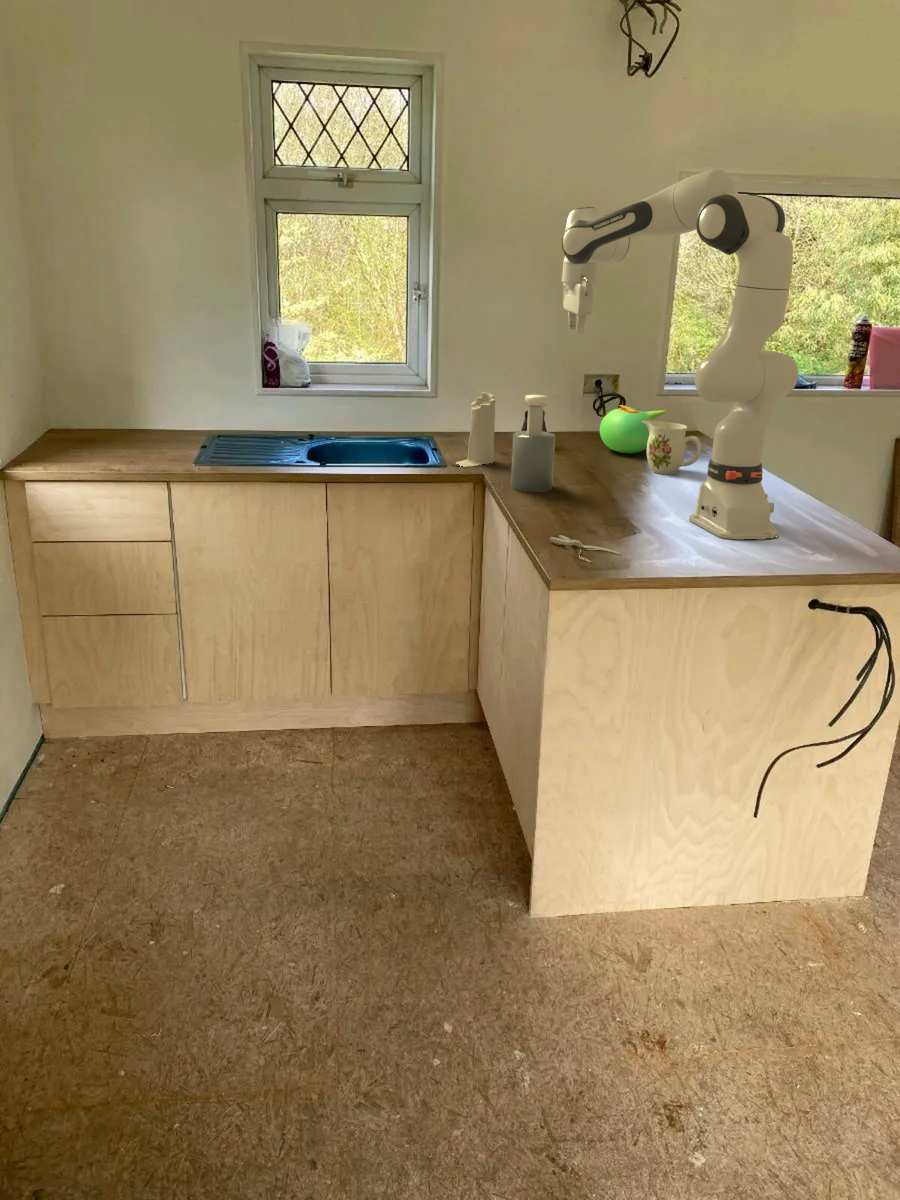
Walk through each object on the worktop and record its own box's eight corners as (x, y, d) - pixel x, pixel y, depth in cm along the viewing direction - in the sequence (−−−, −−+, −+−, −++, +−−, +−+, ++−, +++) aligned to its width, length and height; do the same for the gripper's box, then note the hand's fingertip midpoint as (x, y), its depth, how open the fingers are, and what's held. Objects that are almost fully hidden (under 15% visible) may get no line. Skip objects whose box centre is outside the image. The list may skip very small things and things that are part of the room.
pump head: (546, 433, 239) (548, 398, 236) (525, 433, 238) (527, 398, 235) (543, 429, 244) (545, 394, 241) (522, 429, 244) (523, 394, 240)
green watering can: (588, 449, 293) (591, 402, 288) (630, 444, 301) (634, 398, 295) (622, 460, 278) (627, 411, 273) (667, 456, 286) (672, 408, 280)
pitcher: (691, 480, 257) (697, 430, 252) (630, 471, 266) (634, 423, 261) (703, 472, 266) (709, 424, 261) (644, 464, 275) (648, 417, 270)
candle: (446, 464, 270) (447, 394, 263) (482, 458, 278) (484, 390, 271) (462, 468, 265) (464, 398, 258) (498, 462, 273) (500, 393, 266)
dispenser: (555, 492, 242) (560, 409, 234) (514, 492, 241) (517, 409, 233) (548, 482, 252) (552, 402, 244) (508, 482, 251) (511, 402, 244)
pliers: (590, 558, 189) (538, 539, 200) (589, 565, 189) (538, 546, 200) (622, 549, 195) (571, 532, 205) (621, 556, 195) (570, 539, 206)
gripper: (600, 277, 231) (596, 334, 236) (583, 274, 250) (579, 327, 255) (575, 276, 230) (571, 334, 236) (560, 273, 249) (557, 327, 255)
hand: (575, 330), depth 245 cm, fingers open, 8 cm apart
